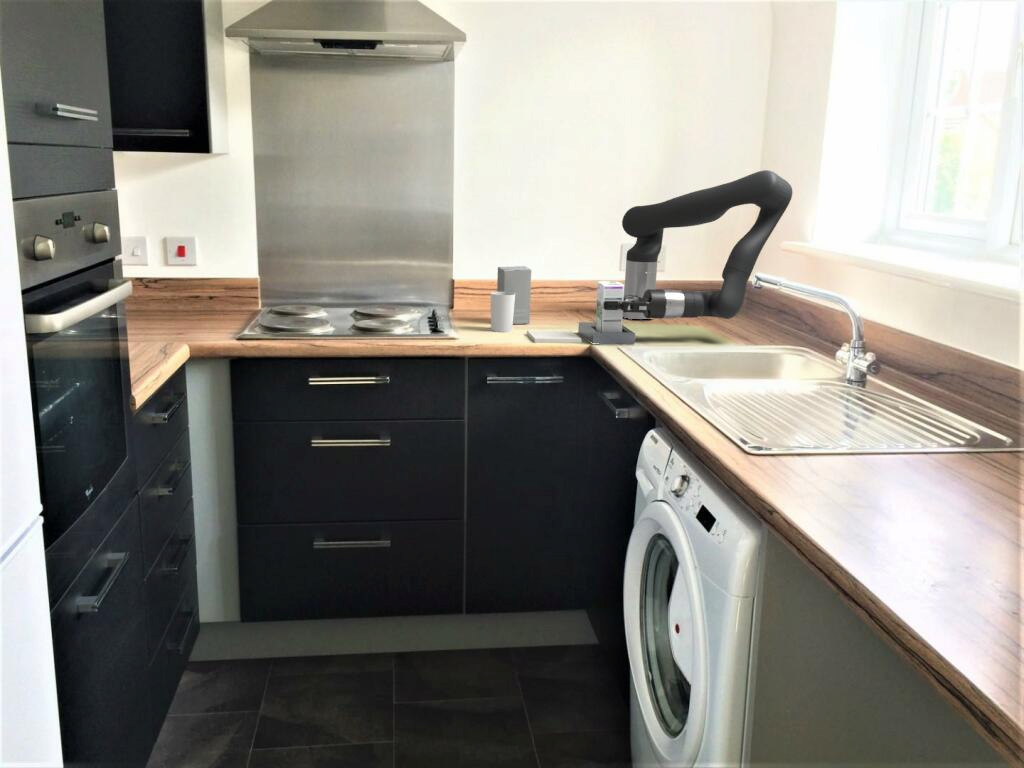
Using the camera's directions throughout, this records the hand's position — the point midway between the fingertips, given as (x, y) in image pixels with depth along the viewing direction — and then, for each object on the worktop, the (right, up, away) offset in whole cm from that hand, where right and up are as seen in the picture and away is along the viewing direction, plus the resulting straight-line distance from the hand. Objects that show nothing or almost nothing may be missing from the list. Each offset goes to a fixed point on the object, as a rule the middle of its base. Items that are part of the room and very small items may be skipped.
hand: (600, 303), depth 241 cm
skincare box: (-23, -4, +24) cm, 33 cm away
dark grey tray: (+2, -9, +5) cm, 10 cm away
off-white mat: (-12, -9, +3) cm, 15 cm away
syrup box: (+2, -9, +3) cm, 10 cm away
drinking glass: (-26, -6, +11) cm, 29 cm away
